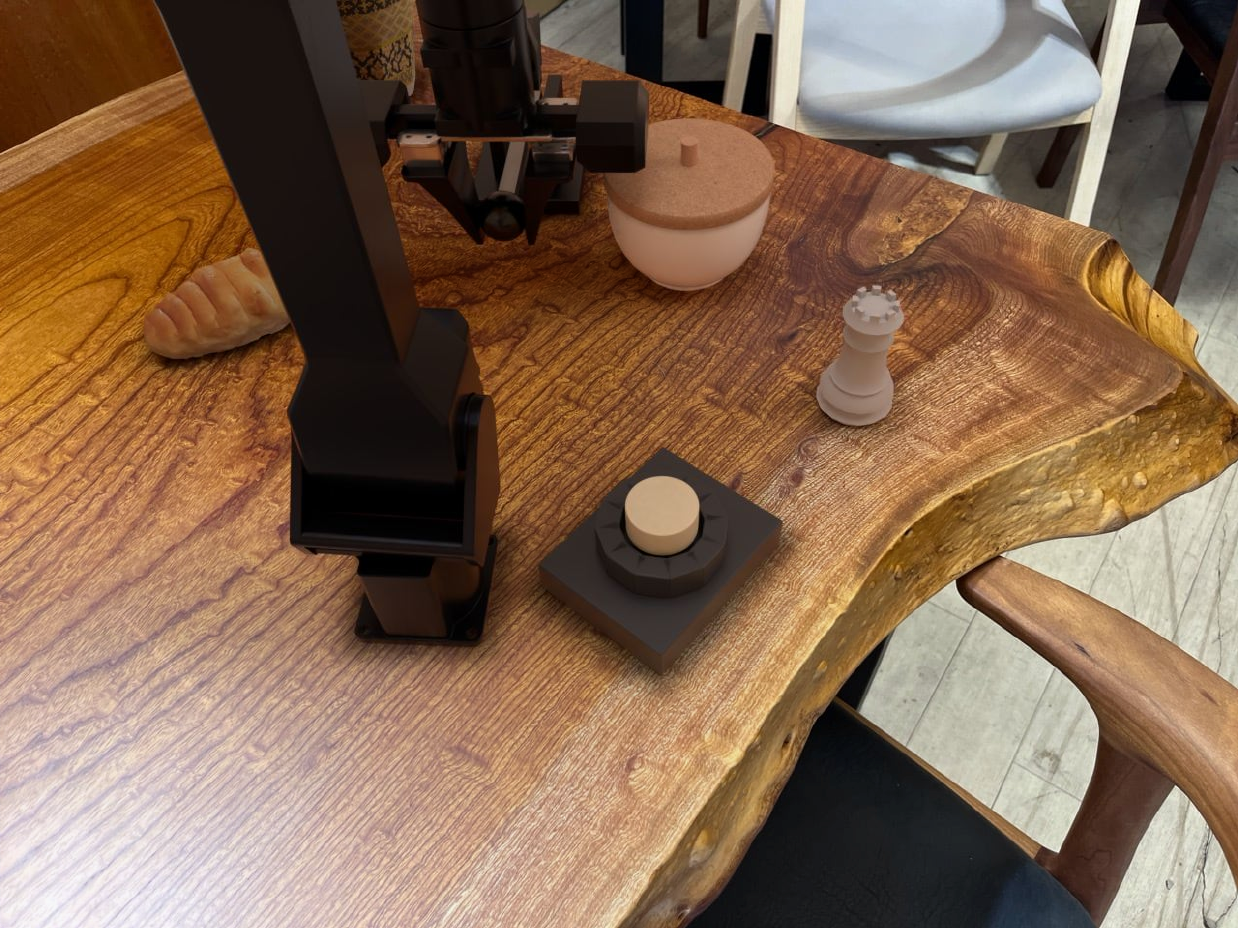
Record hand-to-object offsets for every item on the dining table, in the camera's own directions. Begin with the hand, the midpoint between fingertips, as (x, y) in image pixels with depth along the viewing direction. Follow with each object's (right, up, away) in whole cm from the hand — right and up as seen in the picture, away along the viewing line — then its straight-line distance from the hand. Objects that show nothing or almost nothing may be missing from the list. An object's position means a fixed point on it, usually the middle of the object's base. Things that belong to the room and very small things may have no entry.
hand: (507, 241), depth 63 cm
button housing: (+10, -20, -13) cm, 26 cm away
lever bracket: (+1, +7, +10) cm, 12 cm away
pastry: (-18, -5, +1) cm, 19 cm away
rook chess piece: (+21, -11, -6) cm, 25 cm away
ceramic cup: (-14, +18, +19) cm, 30 cm away
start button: (+10, -18, -16) cm, 26 cm away
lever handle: (0, +5, +3) cm, 6 cm away
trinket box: (+12, -1, +3) cm, 12 cm away
